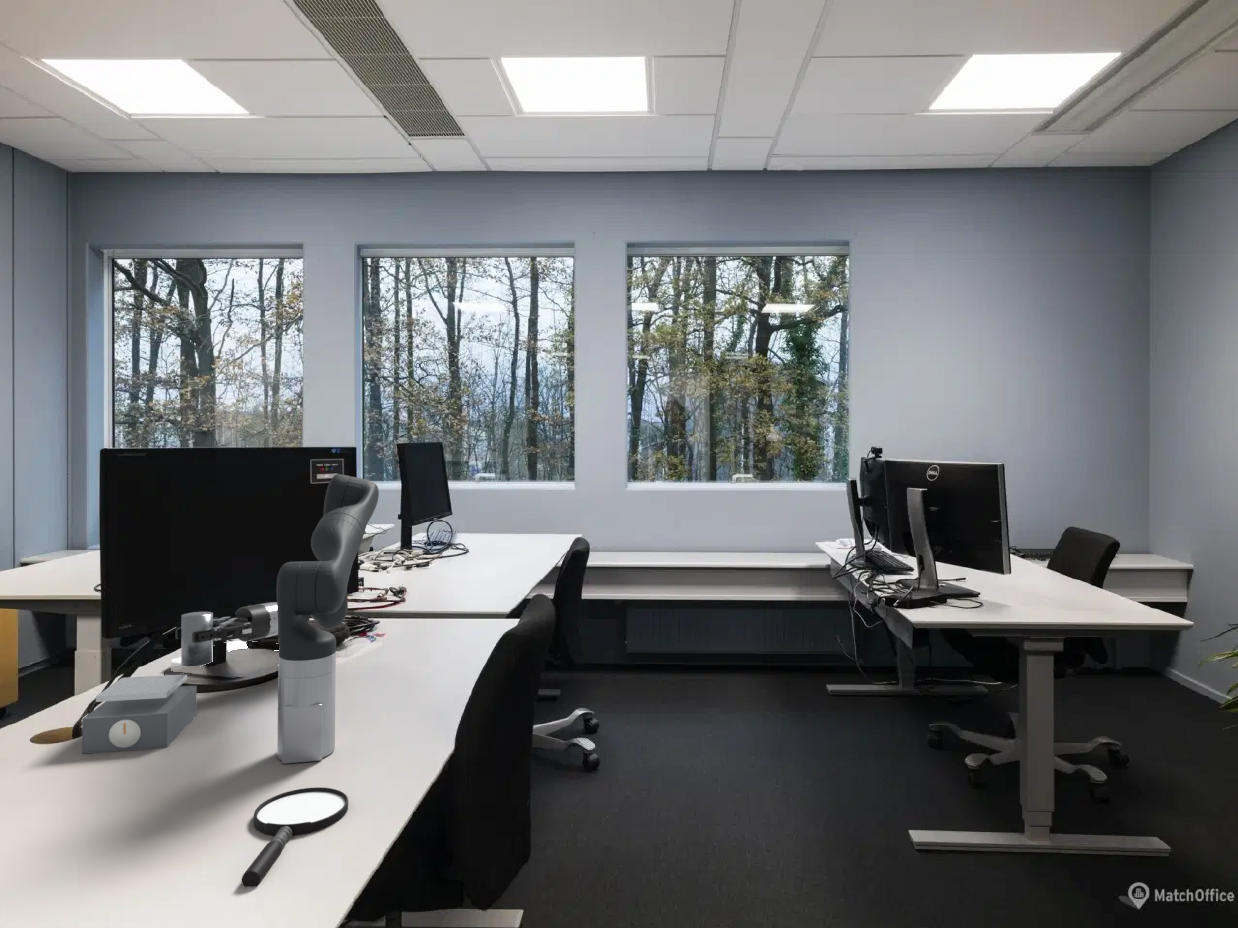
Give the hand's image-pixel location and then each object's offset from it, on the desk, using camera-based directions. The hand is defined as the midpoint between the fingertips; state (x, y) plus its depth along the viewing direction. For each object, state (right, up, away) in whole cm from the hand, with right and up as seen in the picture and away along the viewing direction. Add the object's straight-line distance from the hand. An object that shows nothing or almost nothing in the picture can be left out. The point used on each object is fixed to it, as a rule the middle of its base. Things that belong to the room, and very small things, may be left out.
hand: (185, 635), depth 147 cm
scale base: (0, -15, -14) cm, 20 cm away
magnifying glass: (+43, -16, -48) cm, 67 cm away
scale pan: (+1, -7, -14) cm, 15 cm away
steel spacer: (+1, -6, +2) cm, 7 cm away
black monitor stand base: (-7, -15, +33) cm, 37 cm away
